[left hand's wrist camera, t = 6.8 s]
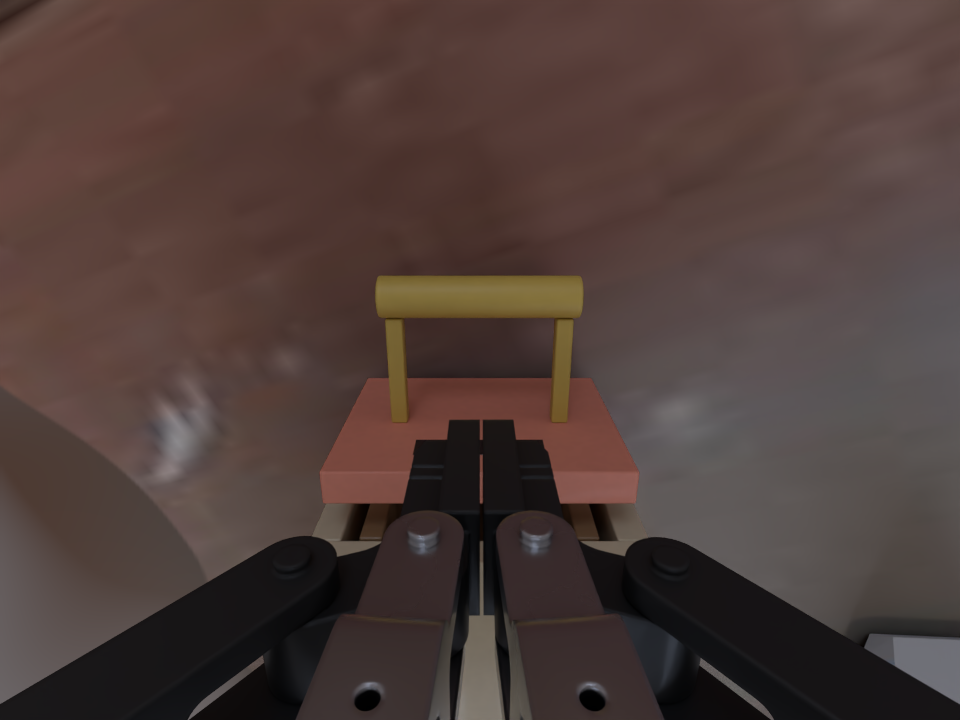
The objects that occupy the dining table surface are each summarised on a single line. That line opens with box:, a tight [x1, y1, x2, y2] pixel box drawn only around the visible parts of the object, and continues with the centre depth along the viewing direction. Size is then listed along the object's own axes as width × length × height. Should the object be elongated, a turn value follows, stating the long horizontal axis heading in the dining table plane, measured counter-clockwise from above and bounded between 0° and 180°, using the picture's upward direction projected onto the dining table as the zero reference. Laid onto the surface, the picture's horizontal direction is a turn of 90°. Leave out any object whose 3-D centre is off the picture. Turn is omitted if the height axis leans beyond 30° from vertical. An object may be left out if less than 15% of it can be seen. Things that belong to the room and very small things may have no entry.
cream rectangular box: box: [312, 504, 648, 720], centre depth 24 cm, size 18×11×10 cm, turn 0°
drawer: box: [319, 276, 639, 541], centre depth 22 cm, size 22×10×8 cm, turn 0°
